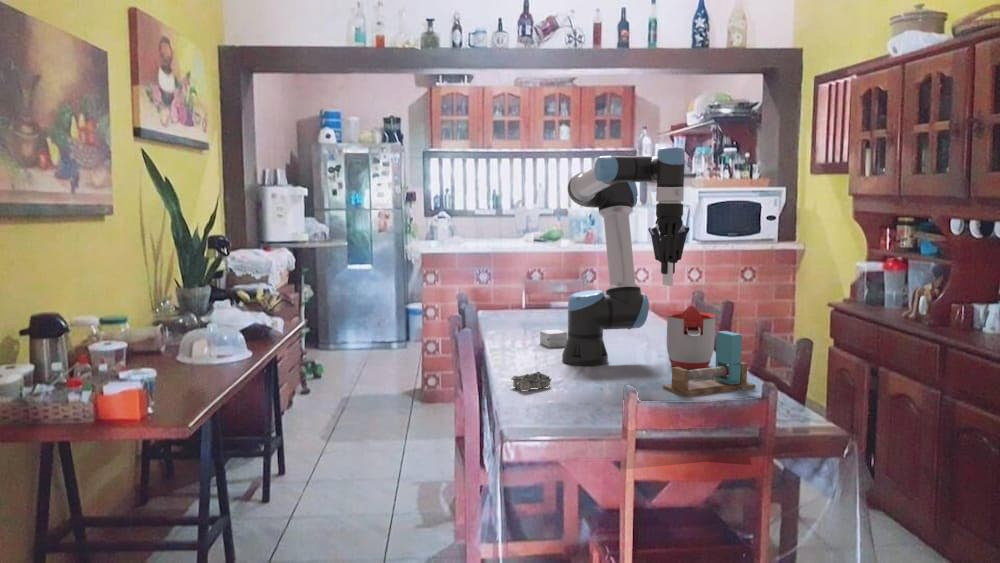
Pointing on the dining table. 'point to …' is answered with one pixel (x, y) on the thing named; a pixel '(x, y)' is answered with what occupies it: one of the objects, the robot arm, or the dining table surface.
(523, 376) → the egg carton
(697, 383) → the rail
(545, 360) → the dining table surface
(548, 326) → the dining table surface
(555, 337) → the small box
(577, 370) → the dining table surface
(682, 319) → the citrus juicer
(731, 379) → the collar
